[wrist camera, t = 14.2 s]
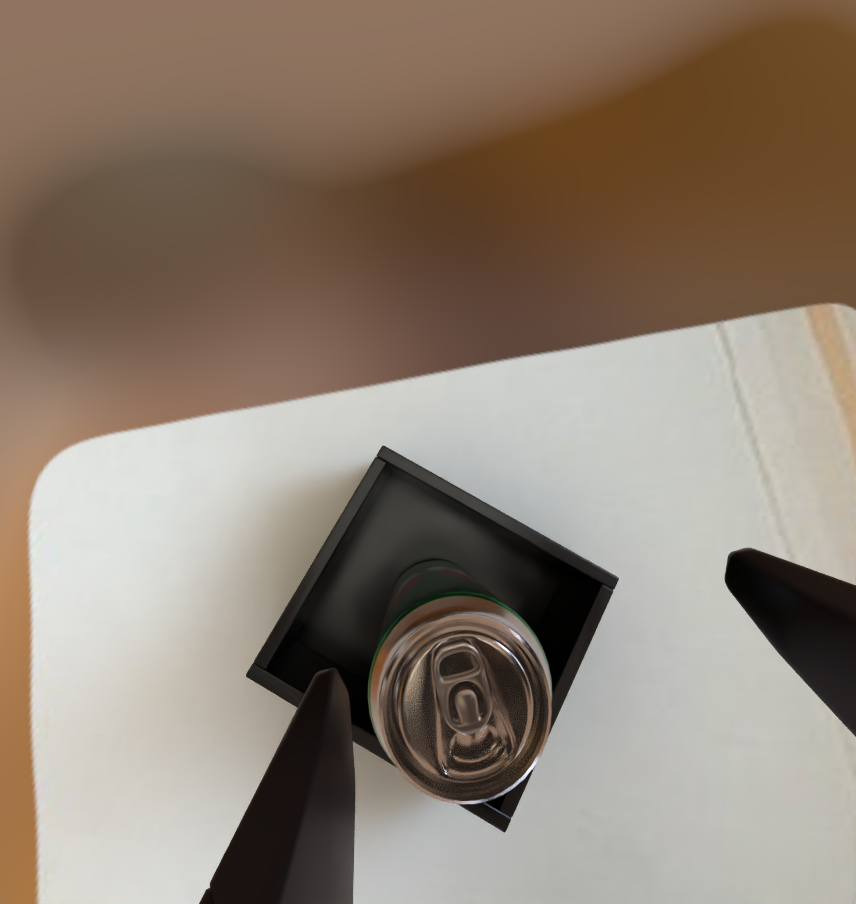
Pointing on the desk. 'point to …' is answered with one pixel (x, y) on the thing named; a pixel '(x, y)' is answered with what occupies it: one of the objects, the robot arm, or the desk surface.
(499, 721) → the soda can
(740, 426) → the desk surface
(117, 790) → the desk surface
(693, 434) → the desk surface
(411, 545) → the open black square box
